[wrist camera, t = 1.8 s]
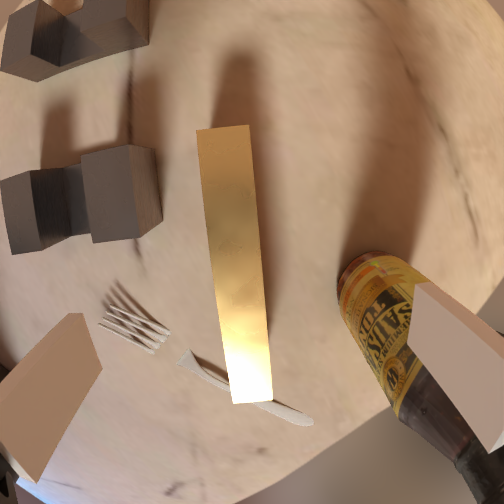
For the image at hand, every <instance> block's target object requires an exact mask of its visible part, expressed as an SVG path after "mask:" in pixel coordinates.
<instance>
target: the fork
mask: <svg viewBox="0 0 504 504" xmlns="http://www.w3.org/2000/svg"><path fill="white" fill-rule="evenodd" d="M110 307H111V308H113V309H115V310H118V311H120V312H122V313H124V314H126V315H129V316H131V317H133V318H135V319H137V320H140V321H142V322H144V323H147V324H149V325H151V326H154V327H155V328H157V329H159V330H161V331H163V332H164V333H165V334H166V335H168V336H169V335H171V334H172V333H171V331H170V330H168V329H167V328H166V327H164V326H162V325H160V324H158V323H155V322H153V321H150V320H148V319H146V318H143V317H141V316H139V315H136V314H134V313H132V312H129V311H127V310H124V309H121V308H119V307H116V306H114V305H111V304H110ZM106 313H107V314H109V315H111V316H113V317H115V318H117V319H119V320H121V321H123V322H125V323H127V324H129V325H131V326H134V327H136V328H138V329H140V330H142V331H144V332H147V333H149V334H150V335H152V336H154V337H155V338H157V339H158V340H159V341H160V342H162V343H163V342H164V341H166V339H167V337H166V336H165V335H160V334H159V333H157V332H155V331H153V330H150V329H148V328H146V327H143V326H141V325H139V324H137V323H134V322H132V321H130V320H128V319H126V318H123V317H121V316H118V315H116V314H114V313H111V312H109V311H106ZM101 319H102V320H104V321H106V322H108V323H110V324H112V325H114V326H116V327H118V328H120V329H122V330H124V331H126V332H128V333H130V334H132V335H134V336H136V337H138V338H140V339H142V340H144V341H146V342H147V343H149V344H150V345H152V346H153V347H154V348H155V349H158V348H160V346H161V345H160V343H158V342H155V341H153V340H152V339H150V338H148V337H145V336H143V335H141V334H139V333H137V332H135V331H133V330H130V329H128V328H126V327H124V326H122V325H120V324H118V323H116V322H113V321H111V320H109V319H107V318H104V317H102V318H101ZM98 325H99V326H100V327H102V328H104V329H106V330H108V331H110V332H112V333H114V334H116V335H118V336H120V337H121V338H123V339H125V340H127V341H129V342H131V343H133V344H135V345H137V346H139V347H141V348H142V349H144V350H146V351H147V352H149V353H151V354H154V353H155V351H154V350H153V349H150V348H148V347H147V346H146V345H144V344H142V343H140V342H138V341H135V340H133V339H131V338H129V337H128V336H126V335H124V334H122V333H120V332H118V331H116V330H114V329H111V328H109V327H107V326H105V325H103V324H101V323H98ZM177 365H179V366H182V367H185V368H187V369H189V370H191V371H192V372H194V373H196V374H197V375H199V376H200V377H202V378H203V379H205V380H206V381H208V382H210V383H211V384H213V385H215V386H217V387H219V388H221V389H223V390H225V391H227V392H229V393H232V392H231V386H230V385H228V384H226V383H224V382H222V381H220V380H218V379H216V378H215V377H213V376H211V375H210V374H209V373H207V372H206V371H205V370H204V369H203V368H202V367H201V366H200V365H199V364H198V362H197V361H196V359H195V357H194V354H193V352H192V351H191V350H190V348H189V349H187V350H186V352H185V353H184V354H183V356H182V357H181V358H180V359H179V361H178V362H177ZM250 403H252V404H254V405H256V406H258V407H260V408H262V409H264V410H266V411H268V412H270V413H272V414H274V415H276V416H278V417H280V418H283V419H285V420H287V421H289V422H291V423H293V424H296V425H300V426H312V425H314V421H313V419H312V418H311V417H309V416H308V415H306V414H304V413H302V412H299V411H297V410H294V409H292V408H289V407H287V406H284V405H282V404H279V403H276V402H274V401H271V400H267V401H256V402H250Z"/></svg>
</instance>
